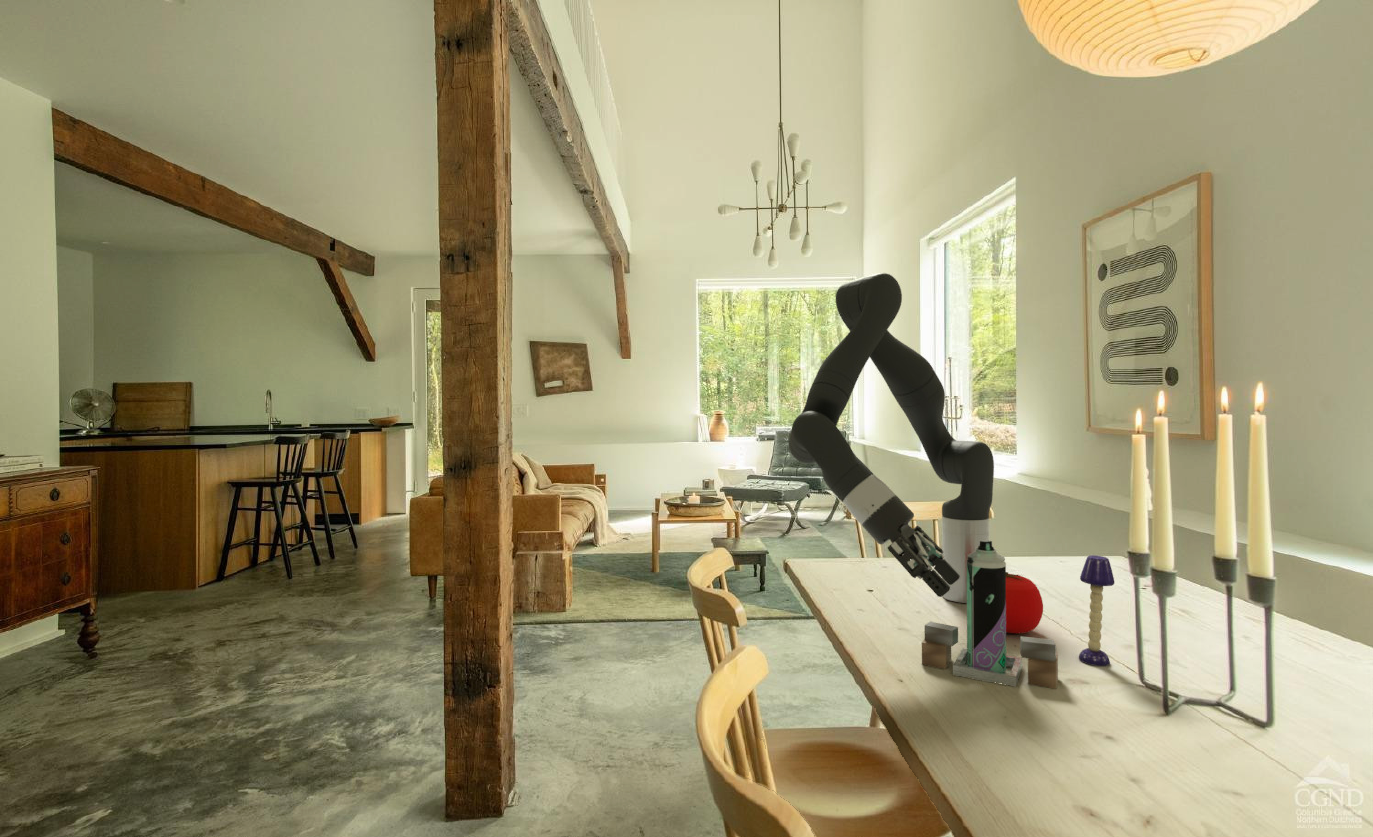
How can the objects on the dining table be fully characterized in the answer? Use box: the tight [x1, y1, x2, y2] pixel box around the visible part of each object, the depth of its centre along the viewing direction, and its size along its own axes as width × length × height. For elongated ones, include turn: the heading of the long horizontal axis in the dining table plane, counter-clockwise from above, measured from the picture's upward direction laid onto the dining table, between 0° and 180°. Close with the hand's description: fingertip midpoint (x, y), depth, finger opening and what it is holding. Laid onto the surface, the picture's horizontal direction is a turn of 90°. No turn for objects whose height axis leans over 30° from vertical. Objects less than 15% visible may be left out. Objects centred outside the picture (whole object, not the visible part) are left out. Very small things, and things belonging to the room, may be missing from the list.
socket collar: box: [952, 647, 1023, 688], centre depth 105 cm, size 9×9×2 cm
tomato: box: [1006, 571, 1044, 634], centre depth 124 cm, size 12×12×10 cm
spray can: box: [966, 540, 1007, 673], centre depth 105 cm, size 6×6×20 cm
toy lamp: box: [1078, 554, 1115, 667], centre depth 108 cm, size 5×5×17 cm
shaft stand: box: [921, 620, 1059, 690], centre depth 105 cm, size 19×4×6 cm, turn 59°
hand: (950, 587), depth 107 cm, fingers open, 8 cm apart
